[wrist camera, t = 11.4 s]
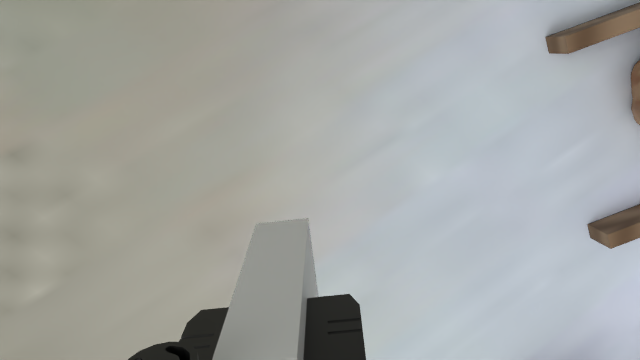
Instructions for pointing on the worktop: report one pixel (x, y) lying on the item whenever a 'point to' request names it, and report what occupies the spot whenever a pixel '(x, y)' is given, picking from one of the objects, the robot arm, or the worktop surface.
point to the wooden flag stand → (634, 219)
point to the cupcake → (636, 91)
